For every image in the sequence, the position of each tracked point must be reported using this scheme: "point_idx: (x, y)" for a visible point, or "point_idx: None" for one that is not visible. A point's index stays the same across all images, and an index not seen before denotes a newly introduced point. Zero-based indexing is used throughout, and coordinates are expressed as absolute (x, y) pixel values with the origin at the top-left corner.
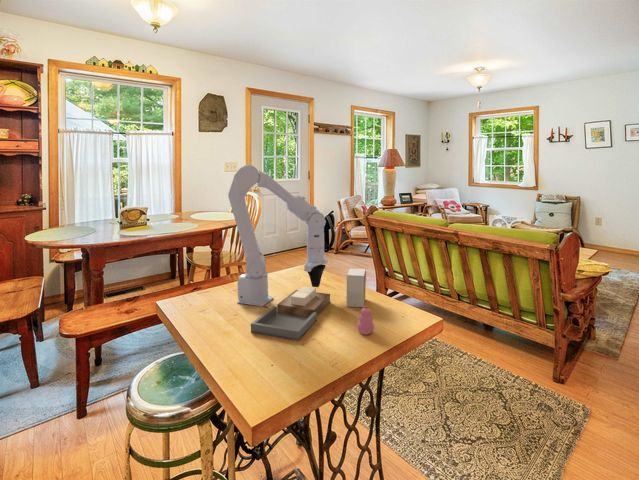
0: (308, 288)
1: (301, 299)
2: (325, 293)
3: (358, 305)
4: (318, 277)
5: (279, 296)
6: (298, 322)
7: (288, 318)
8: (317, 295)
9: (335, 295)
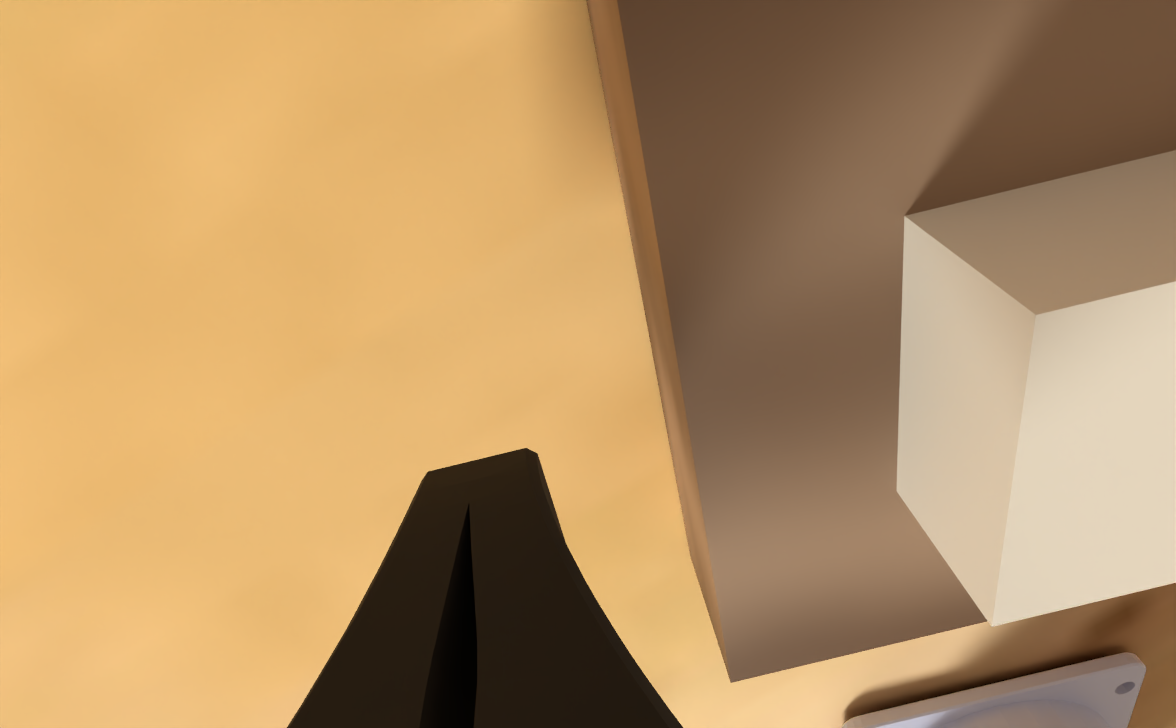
0: (1109, 463)
1: None
2: (638, 84)
3: None
4: (652, 688)
5: (740, 714)
6: None
7: None
8: (886, 187)
9: (50, 79)
